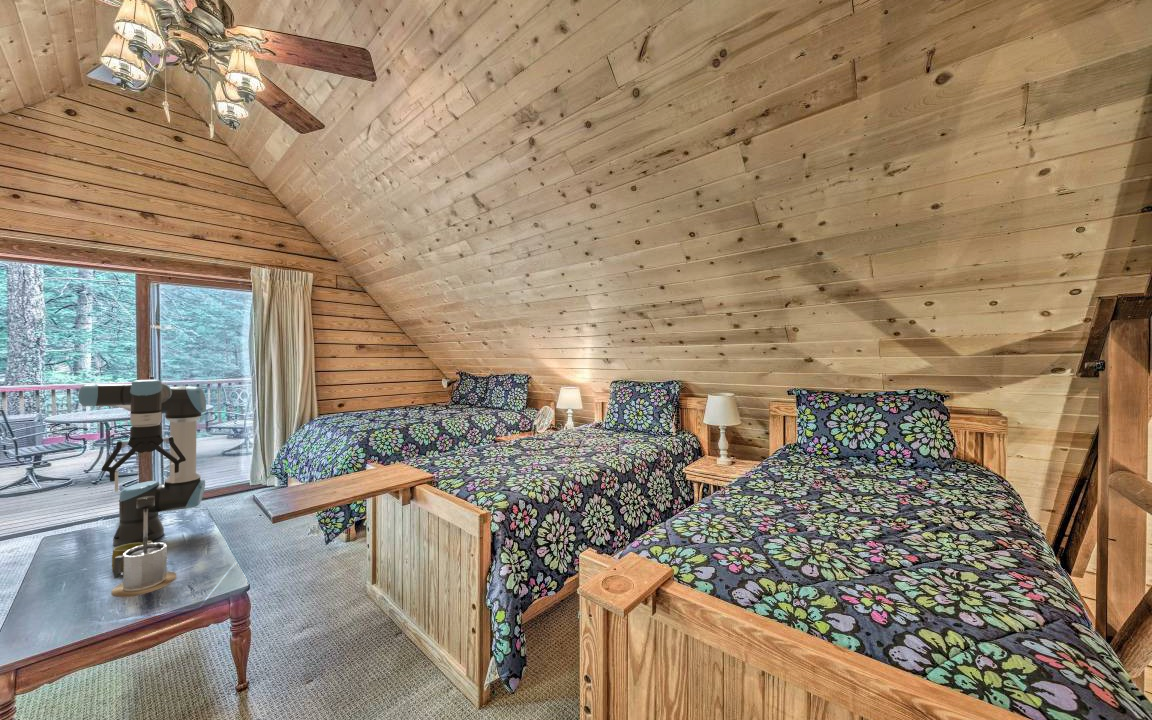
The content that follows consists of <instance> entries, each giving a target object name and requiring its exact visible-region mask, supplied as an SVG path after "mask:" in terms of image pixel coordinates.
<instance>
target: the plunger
mask: <svg viewBox="0 0 1152 720" xmlns="http://www.w3.org/2000/svg"><path fill="white" fill-rule="evenodd" d="M153 506H155V496H145V497H141V498H138V499H137V509H144V532H143V549H142V550H139V551H136V552H134V553H132V554H131V555H130V556H139V555H145V554H149V553H153V552H155V551H157V550H160V548H147V546H148V508H150V507H153Z"/></svg>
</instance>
